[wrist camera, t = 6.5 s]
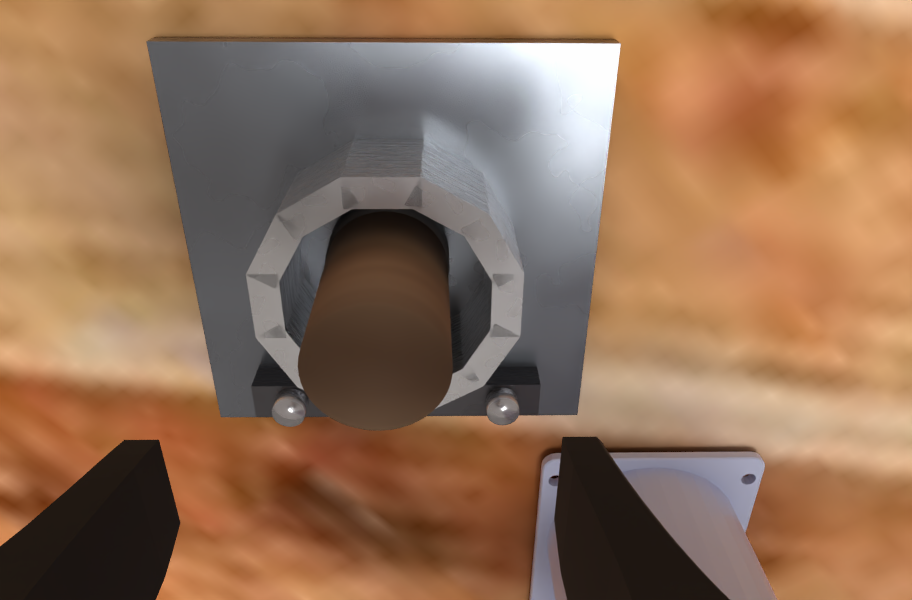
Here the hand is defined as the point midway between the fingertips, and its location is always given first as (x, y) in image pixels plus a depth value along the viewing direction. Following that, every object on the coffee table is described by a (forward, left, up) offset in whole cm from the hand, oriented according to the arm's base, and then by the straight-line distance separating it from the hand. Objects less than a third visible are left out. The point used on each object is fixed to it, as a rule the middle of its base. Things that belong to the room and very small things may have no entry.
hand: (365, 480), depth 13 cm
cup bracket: (0, 0, -10) cm, 10 cm away
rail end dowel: (0, 0, -9) cm, 9 cm away
